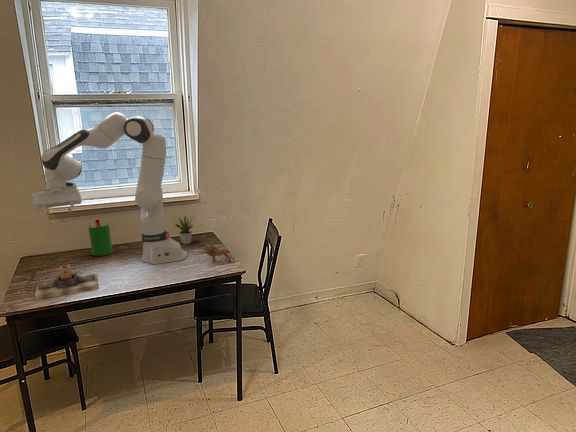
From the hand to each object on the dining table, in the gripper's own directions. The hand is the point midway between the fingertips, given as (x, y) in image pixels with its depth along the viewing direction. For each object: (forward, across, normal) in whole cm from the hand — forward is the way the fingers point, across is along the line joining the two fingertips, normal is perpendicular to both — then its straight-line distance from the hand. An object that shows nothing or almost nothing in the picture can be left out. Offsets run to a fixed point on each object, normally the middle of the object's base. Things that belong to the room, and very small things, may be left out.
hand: (59, 212), depth 198 cm
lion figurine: (+37, +68, +5) cm, 78 cm away
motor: (+5, +16, +37) cm, 40 cm away
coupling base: (+36, 0, +5) cm, 37 cm away
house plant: (+8, +62, +34) cm, 71 cm away
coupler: (+35, 0, +4) cm, 35 cm away
